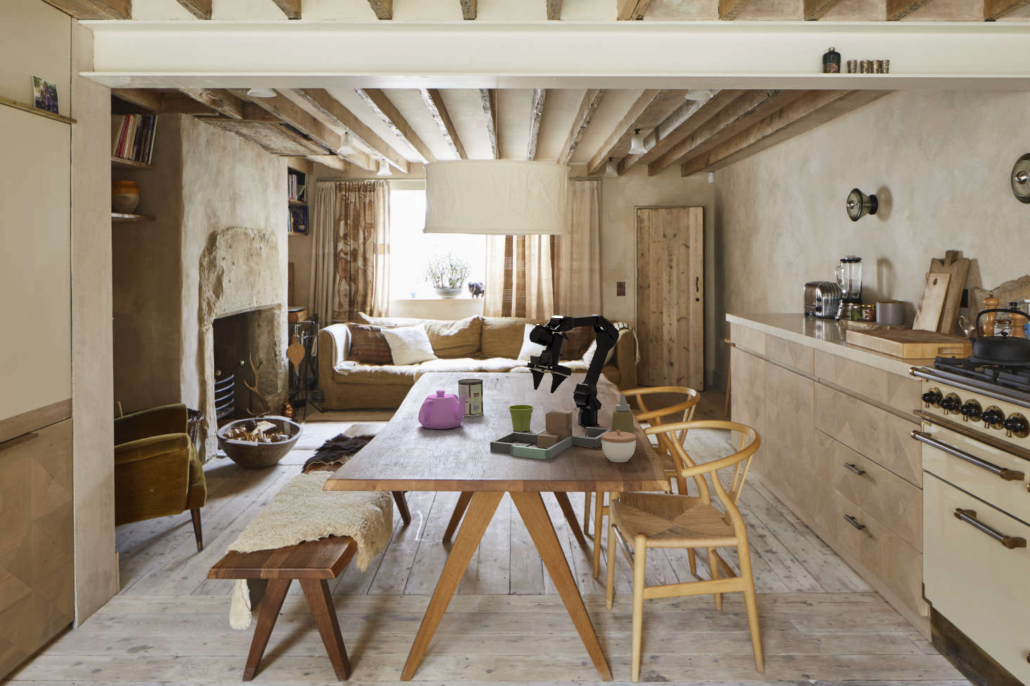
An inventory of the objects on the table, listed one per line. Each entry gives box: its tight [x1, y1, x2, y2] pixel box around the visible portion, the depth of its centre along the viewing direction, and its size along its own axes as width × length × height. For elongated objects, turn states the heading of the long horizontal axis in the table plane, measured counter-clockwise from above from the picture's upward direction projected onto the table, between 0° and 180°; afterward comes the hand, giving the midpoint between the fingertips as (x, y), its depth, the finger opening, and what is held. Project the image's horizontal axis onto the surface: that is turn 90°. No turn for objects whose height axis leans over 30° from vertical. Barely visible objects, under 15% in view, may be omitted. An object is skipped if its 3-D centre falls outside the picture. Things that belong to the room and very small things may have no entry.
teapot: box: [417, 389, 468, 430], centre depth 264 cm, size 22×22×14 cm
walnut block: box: [536, 409, 573, 449], centre depth 237 cm, size 14×7×10 cm, turn 153°
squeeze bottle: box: [610, 393, 635, 434], centre depth 230 cm, size 8×8×18 cm
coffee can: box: [457, 378, 484, 417], centre depth 287 cm, size 10×10×14 cm
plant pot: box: [508, 404, 535, 433], centre depth 258 cm, size 9×9×9 cm
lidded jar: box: [601, 430, 637, 463], centre depth 216 cm, size 11×11×9 cm
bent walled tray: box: [489, 426, 611, 461], centre depth 236 cm, size 36×30×3 cm
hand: (543, 391), depth 251 cm, fingers open, 9 cm apart
